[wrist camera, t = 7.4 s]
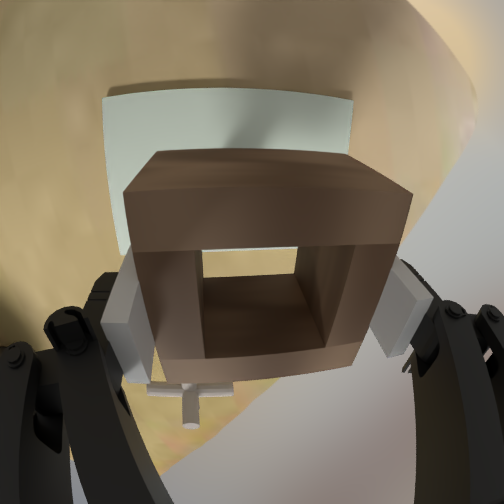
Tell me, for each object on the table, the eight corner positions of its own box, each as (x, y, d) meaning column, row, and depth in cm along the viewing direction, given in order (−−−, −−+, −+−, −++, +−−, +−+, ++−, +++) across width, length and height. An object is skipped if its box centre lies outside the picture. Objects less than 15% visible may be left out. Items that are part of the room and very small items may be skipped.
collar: (173, 304, 15) (167, 383, 10) (156, 150, 10) (122, 192, 6) (318, 296, 16) (351, 365, 12) (345, 153, 12) (413, 193, 7)
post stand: (123, 249, 25) (93, 325, 17) (106, 97, 18) (43, 105, 9) (328, 242, 28) (374, 308, 20) (348, 99, 21) (424, 112, 12)
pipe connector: (145, 329, 31) (135, 403, 22) (230, 330, 32) (240, 404, 24) (156, 377, 36) (153, 440, 27) (227, 377, 37) (235, 439, 29)
